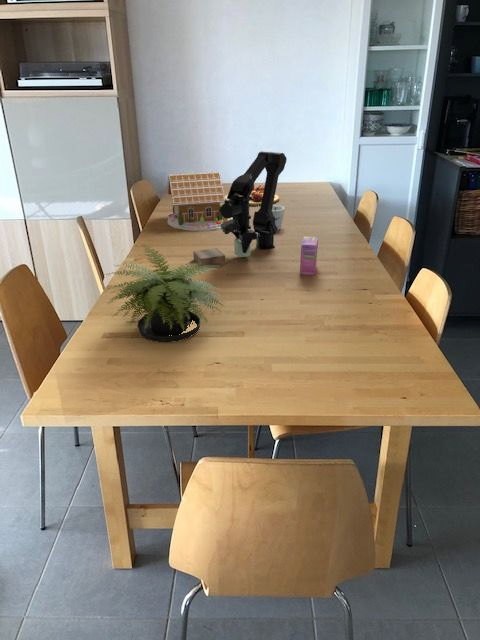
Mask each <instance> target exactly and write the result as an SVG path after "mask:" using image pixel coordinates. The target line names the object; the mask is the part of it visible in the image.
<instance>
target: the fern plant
mask: <svg viewBox="0 0 480 640" xmlns="http://www.w3.org/2000/svg"><path fill="white" fill-rule="evenodd" d="M142 247H144V256H146V257H147V258H146V260H147V262H148V263H152V264H154V265H151V264H150V266H151V267H152V268H156V269H153V270H152V269H150V268H147V267H146V266H144V265H141V264H137V263H134V264H133V263H131V262H130V263H125V264H124V263H122V264H117V265H115V264H114V265H113V266H114V267H123V268H127V269H129V271H128V270H126V269H125V270H122V271H120V270H118V271H117V272H116V271H114V272H113V271H111V273H110V272H109V273H104V274H103V275H107V276H108V275H111V274H114V275H119V276H122V275H124V277H126V276H130V275H131V277H132V278H134V277H137V279H136V280H135V279H134V280H130V281H129V282H127V281H124V283H120V284H114V285H113V288H114V289H115V288H116V289H117V288H118V289H117V290H114V291H111V292H110V293H115V292H118V293H116V294H115V296H113V297H112V298H110V299H109V301H107V304H112V302H116V300H120V299H125V297H126V299H127V298H128V300H129V301H125V302H124V303H125V304H123V305H121V306H120V307H121V308H119V309H117V312H115V313H114V315H112V316H111V318H113V317H115V316H118V313H121V312H124V311H125V312H124V313H125V314H124V315H123V316H122V317H123V318H124V317H125V316H128V314H130V311H133V312H132V316H130V319H131V320H130V323H129V325H128V326H131V324H134V322H136V320H137V318H139V317H141V316H142V315H143V314H144V315H143V316H142V317H141V318H139V320H138V322H137V329H138V333H139V334H141V335H140V336H141V337H142V336H143V337H142V338H144V339H146V340H147V339H148V341H151V340H152V342H155V341H158V342H157V343H173V342H172V341H176V342H180V341H179V340H181V341H183V340H182V339H184V340H186V339H185V338H187V339H189V338H188V337H190V336H191V335H193V334H195V333H196V332H197V331H198V330H199V331H200V329H199V328H200V327H201V321H202V320H204V321H205V322H206V323H208V318H207V317H206V316H205V314H204V312H203V311H202V308H201V306H203V305H204V306H205V307H206V308H209V309H211V310H214V311H215V310H217V311H219V312H220V313H222V311H221V309H220V308H218V306H217V305H220V306H222V307H225V305H224V304H222V303H225V304H227V303H226V302H225V300H223V299H221V298H219V297H217V296H220V297H221V295H220V294H219V293H218V292H216V291H214V290H216V289H217V290H220V291H222V289H221V288H219V287H216V286H214V285H213V283H211V284H210V283H208V282H206V281H203V280H199V279H198V280H197V279H196V278H194V277H196V276H198V275H202V274H203V273H206V272H209V271H212V270H217V268H215V267H217V266H215V265H214V266H210V265H209V266H210V267H208V266H207V267H206V265H205V266H204V265H203V266H201V265H200V266H201V267H200V266H199V265H198V264H197V263H196V262H195V263H189V264H187V263H185V264H184V265H183V264H181V265H180V266H178V267H176V266H175V267H172V266H170V264H167V263H168V260H166V261H165V259H166V258H165V255H163V254H162V253H159V250H155V249H154V248H151V247H150V246H147V245H145V244H143V245H142ZM145 253H146V254H145ZM162 256H163V257H162ZM166 264H167V265H166ZM140 271H141V272H140ZM193 278H194V279H193ZM110 289H111V287H108V288H107V290H110ZM130 297H131V298H130ZM216 306H217V307H216ZM192 320H193V321H195V323H196V324H197V327H196V328H194V329H193V330H191V331H189V332H187V333H183V334H181V333H182V332H183V331H186V329H187V328H188V327H187V326H188V325H189V327H190V324H191V322H192ZM192 324H193V323H192ZM199 331H198V332H199ZM198 332H197V333H198ZM197 333H196V334H197ZM179 334H180V335H179ZM196 334H195V335H196ZM169 335H170V336H169ZM171 335H172V336H171ZM193 336H194V335H193ZM191 337H192V336H191ZM191 337H190V338H191Z"/></svg>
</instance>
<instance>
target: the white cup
mask: <svg viewBox="0 0 480 640" xmlns="http://www.w3.org/2000/svg"><path fill="white" fill-rule="evenodd" d="M285 210H286V209H285V207H284V206H281V205H279V204H278V205H276V204H275V205H274V204H273V207H272V213H273V216H274V224H275V225H276V226H277V228H278V229H277V231H279V229H280V230H281V229H282V226H283V220H284V214H285Z"/></svg>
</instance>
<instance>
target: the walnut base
mask: <svg viewBox="0 0 480 640" xmlns="http://www.w3.org/2000/svg"><path fill="white" fill-rule="evenodd" d="M192 253H193V255H192V256H193V261H194V262H195V264H197V266H200V265H201V266H203V265H204V266H205V265H206V268H209V267H210V266H211V267H213V266H214V265H215V266H216V267H218V266H223V265H226V255H225V254H224V253H223V252H222V251H221V250H220V249H218V248H217V247H214V248H207V249H199V250H193V252H192ZM209 265H210V266H209ZM201 266H200V267H201ZM207 266H208V267H207ZM215 266H214V267H215ZM200 267H199V268H200ZM211 267H210V268H211Z"/></svg>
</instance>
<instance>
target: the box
mask: <svg viewBox="0 0 480 640" xmlns="http://www.w3.org/2000/svg"><path fill="white" fill-rule="evenodd" d="M318 244H319V236H308V235H304V236H303V237H302V241H301V244H300V245H301V246H300V257H299V258H300V260H299V261H300V262H299V275H304V276H315V273H316V269H317V262H318V261H317V260H318V249H319V248H318V247H319V245H318Z"/></svg>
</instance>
